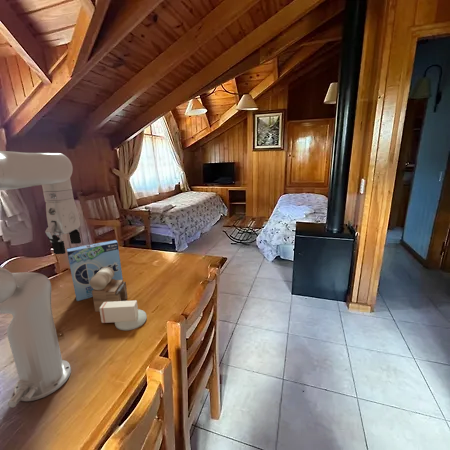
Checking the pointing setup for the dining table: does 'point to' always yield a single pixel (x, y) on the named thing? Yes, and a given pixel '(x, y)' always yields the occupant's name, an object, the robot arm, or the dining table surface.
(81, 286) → the gum box
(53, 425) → the dining table surface
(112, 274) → the dispenser
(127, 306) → the white box
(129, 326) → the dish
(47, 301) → the robot arm
